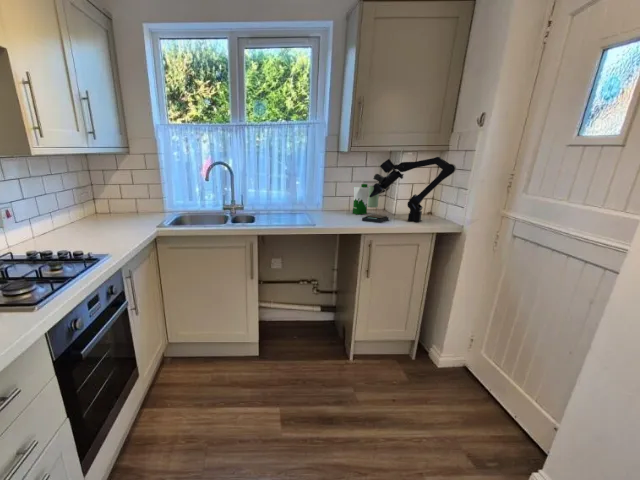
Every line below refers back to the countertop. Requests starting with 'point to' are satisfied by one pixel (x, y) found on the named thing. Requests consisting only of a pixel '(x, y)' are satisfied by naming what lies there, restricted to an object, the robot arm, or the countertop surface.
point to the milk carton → (360, 199)
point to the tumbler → (372, 198)
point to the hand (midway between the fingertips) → (371, 196)
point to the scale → (375, 218)
